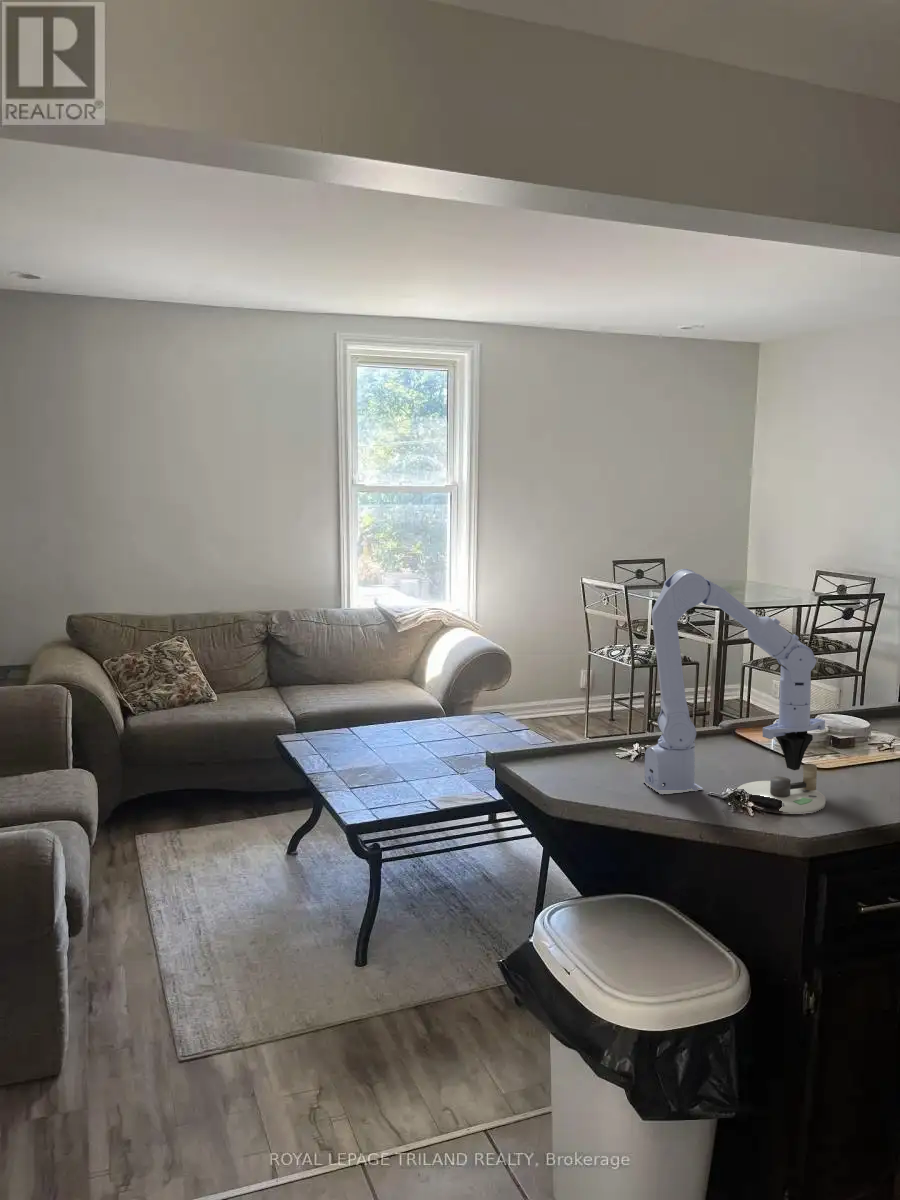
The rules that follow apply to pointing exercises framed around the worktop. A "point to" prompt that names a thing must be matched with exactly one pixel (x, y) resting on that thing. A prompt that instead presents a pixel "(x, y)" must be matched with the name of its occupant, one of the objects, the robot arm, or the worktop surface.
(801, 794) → the dial plate
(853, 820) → the worktop surface
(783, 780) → the crank handle
